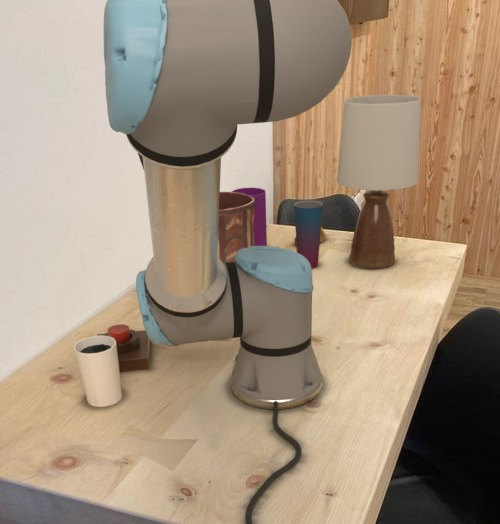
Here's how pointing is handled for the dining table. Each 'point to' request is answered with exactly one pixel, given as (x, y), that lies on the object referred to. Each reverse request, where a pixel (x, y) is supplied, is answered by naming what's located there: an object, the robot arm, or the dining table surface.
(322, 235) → the pastry
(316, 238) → the cup
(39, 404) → the dining table surface
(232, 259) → the pottery
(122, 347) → the switch box
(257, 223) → the mug
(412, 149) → the lamp
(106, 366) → the white coffee cup
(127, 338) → the lamp switch
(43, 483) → the dining table surface
